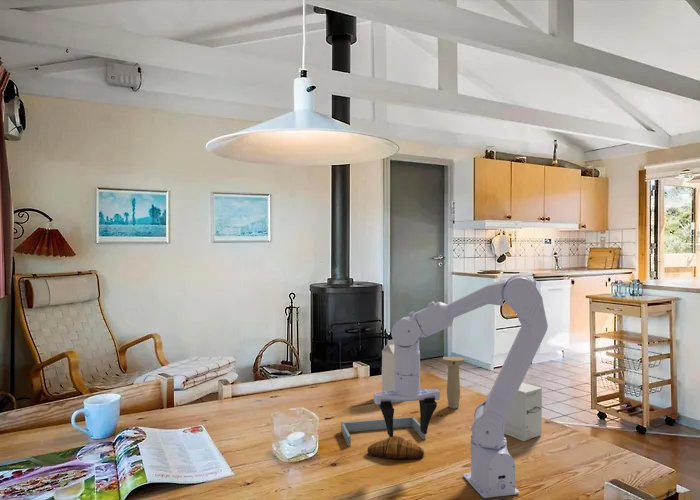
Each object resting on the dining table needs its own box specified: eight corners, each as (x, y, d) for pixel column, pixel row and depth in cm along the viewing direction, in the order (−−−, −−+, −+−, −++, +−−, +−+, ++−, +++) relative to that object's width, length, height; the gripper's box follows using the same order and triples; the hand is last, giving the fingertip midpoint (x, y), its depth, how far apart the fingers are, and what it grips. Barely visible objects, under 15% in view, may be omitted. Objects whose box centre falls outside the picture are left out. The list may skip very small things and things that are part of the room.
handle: (464, 410, 144) (464, 360, 144) (443, 409, 145) (442, 360, 145) (463, 405, 149) (463, 357, 148) (442, 404, 150) (442, 356, 149)
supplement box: (524, 442, 121) (524, 392, 121) (500, 432, 127) (500, 385, 127) (542, 435, 125) (542, 387, 125) (518, 426, 131) (518, 380, 131)
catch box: (425, 439, 123) (425, 429, 123) (348, 446, 119) (348, 436, 119) (413, 425, 132) (413, 416, 132) (341, 431, 128) (341, 422, 128)
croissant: (423, 451, 116) (423, 431, 116) (424, 464, 110) (424, 442, 110) (368, 449, 118) (368, 428, 118) (366, 461, 111) (365, 440, 111)
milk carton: (382, 395, 158) (381, 338, 158) (399, 392, 161) (399, 336, 161) (393, 402, 152) (393, 342, 152) (412, 398, 155) (412, 340, 155)
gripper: (431, 365, 111) (431, 424, 111) (370, 369, 108) (370, 429, 108) (443, 374, 104) (443, 436, 104) (378, 378, 101) (378, 442, 101)
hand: (407, 433), depth 105 cm, fingers open, 7 cm apart
